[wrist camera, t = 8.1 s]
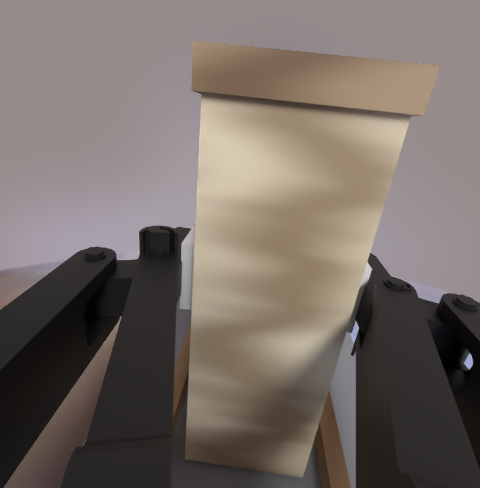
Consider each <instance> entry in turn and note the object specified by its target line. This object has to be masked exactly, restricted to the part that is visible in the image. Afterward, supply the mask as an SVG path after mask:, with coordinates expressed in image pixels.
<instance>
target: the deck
mask: <svg viewBox="0 0 480 488" xmlns="http://www.w3.org/2000/svg"><path fill="white" fill-rule="evenodd" d="M191 313H192V310H187V309H180V298H179V300H178V302H177V308H176V342H175V363H176V360H177V358H178V355H179V352H180V350H181V347H182V344H183V342H184V339H185V336H186V334H187V331H188V328H189V326H190V323H191ZM353 346H354V345H353V342H352V339H351V337H350V334H349V332H346V335H345V338H344V342H343V345H342V348H341V352H340V355H339V358H338V362H337V365H336V368H335V372H334V375H333V378H332V382H331V385H330V388H329V390H330V395H331V399H332V404H333V408H334V413H335V417H336V421H337V426H338V430H339V435H340V439H341V444H342V448H343V453H344V457H345V462H346V466H347V471H348V475H349V480H350V484H351V488H356V352H355V354H354V356H352V355H351V352H352V349H353ZM187 400H188V388H187V391H186V394H185V398H184V401H183V405H182V408H181V411H180V415H179V418H178V421H177V425H176V428H175V431H174V435H173V439H172V472H171V488H322V487H321V480H320V473H319V466H318V459H317V452H316V445H315V439H314V442H313V445H312V449H311V452H310V455H309V459H308V462H307V465H306V469H305V472H304V475H303V478H301V477H295V476H288V475H282V474H276V473H269V472H263V471H256V470H250V469H244V468H237V467H231V466H224V465H218V464H212V463H205V462H199V461H192V460H186V459H185V444H186V422H187ZM86 439H87V438H86ZM85 442H86V440H85ZM85 442H84V444H85ZM84 444H83V445H84ZM83 445H82V446H83ZM61 484H62V483H61ZM60 487H61V485H60V486H59V488H60Z"/></svg>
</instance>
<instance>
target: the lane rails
mask: <svg viewBox="0 0 480 488" xmlns="http://www.w3.org/2000/svg"><path fill="white" fill-rule="evenodd" d="M190 335H191V323H190V326H189V328H188V331H187V334H186V336H185V339H184V342H183V344H182V347H181V350H180V352H179V355H178V358H177V360H176V363H175V374H174V407H173V435H174V431H175V428H176V425H177V421H178V418H179V415H180V411H181V408H182V405H183V401H184V398H185V394H186V391H187V388H188V378H189V357H190ZM315 445H316V452H317V459H318V466H319V473H320V480H321V487H322V488H351V484H350V480H349V475H348V471H347V466H346V462H345V457H344V453H343V448H342V444H341V439H340V435H339V430H338V426H337V421H336V417H335V413H334V408H333V404H332V399H331V395H330V390H329V392H328V395H327V398H326V402H325V405H324V408H323V412H322V415H321V418H320V422H319V425H318V429H317V432H316V435H315Z"/></svg>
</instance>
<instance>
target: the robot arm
mask: <svg viewBox="0 0 480 488" xmlns="http://www.w3.org/2000/svg"><path fill="white" fill-rule="evenodd" d="M195 226H196V223H195V224H194V226H193V227H192V229H189V228H182V227H177V228H175V229H174V228H171V227H167V226H150V227H146V228H144V229H142V230H141V231H140V232H139V238H140V255H139V258H138V259H136V260H117V258H116V253H115V251H113V250H111V249H108V248H101V247H94V248H93V247H91V248H88V249H84V250H81V251H79V252H77V253H76V254H75V255H73V256H72V257H71V258H69V259H68V260H66V261H65V262H64V263H62V264H61V265H60V266H58V267H57V268H56V269H54V270H53V271H52V272H50V273H49V274H48V275H46V276H45V277H44V278H42V279H41V280H40V281H38V282H37V283H36V284H34V285H33V286H32V287H30V288H29V289H28V290H26V291H25V292H24V293H22V294H21V295H20V296H19V297H17V298H16V299H15V300H13V301H12V302H11V303H9V304H8V305H7V306H5V307H4V308H3V309H1V310H0V488H3V487H4V486H5V484H6V483H7V481H8V480H9V478H10V477H11V476H12V474H13V473H14V471H15V470H16V468H17V467H18V465H19V464H20V463H21V461H22V460H23V458H24V457H25V455H26V454H27V452H28V451H29V450H30V448H31V447H32V445H33V444H34V442H35V441H36V439H37V438H38V437H39V435H40V434H41V432H42V431H43V429H44V428H45V426H46V425H47V424H48V422H49V421H50V419H51V418H52V416H53V415H54V413H55V412H56V411H57V409H58V408H59V406H60V405H61V403H62V402H63V400H64V399H65V398H66V396H67V395H68V393H69V392H70V390H71V389H72V388H73V386H74V385H75V383H76V382H77V380H78V379H79V377H80V376H81V375H82V373H83V372H84V370H85V369H86V367H87V366H88V364H89V363H90V362H91V360H92V359H93V357H94V356H95V354H96V353H97V351H98V350H99V349H100V347H101V346H102V344H103V343H104V341H105V340H106V338H107V337H108V336H109V334H110V333H111V331H112V330H113V328H114V327H115V325H116V324H117V323H118V321H119V319H120V316H122V318H121V321H120V325H119V328H118V332H117V335H116V339H115V342H114V346H113V349H112V353H111V356H110V360H109V363H108V367H107V370H106V374H105V377H104V381H103V384H102V388H101V391H100V395H99V398H98V402H97V405H96V409H95V412H94V416H93V419H92V423H91V426H90V430H89V433H88V436H87V439H86V442H85V444H84V445H83V446H81V447H77V448H76V449H75V451H74V452H73V454H72V455H71V458H70V461H69V463H68V466H67V469H66V471H65V475H64V478H63V481H62V484H61V487H60V488H171V472H172V439H173V407H174V374H175V342H176V308H177V302H178V300H179V298H180V309H187V310H192V292H193V270H194V248H195ZM355 321H357V324H358V326H359V331H358V334H357V337H356V340H355V343H354V346H353V349H352V352H351V355H352V356H354V354H355V352H356V488H480V303H478V302H476V301H474V300H473V299H472V298H470V297H466V296H464V295H457V294H449V293H447V294H444V295H443V296H442V298H441V300H440V303H439V304H438V303H434V302H431V301H427V300H424V299H421V298H418V295H417V292H416V290H415V289H414V287H413V286H411V285H410V284H409V283H407V282H405V281H403V280H401V279H398V278H395V277H391V276H390V275H389V273H388V272H387V271H386V269H385V268H384V267H383V265H382V264H381V263H380V261H379V260H378V259H377V257H376V256H374V255H373V254H371V253H370V255H369V258H368V262H367V265H366V268H365V272H364V275H363V278H362V282H361V285H360V288H359V292H358V295H357V298H356V302H355V305H354V308H353V312H352V315H351V318H350V322H349V325H348V328H347V332H350V333H352V330H353V327H354V324H355ZM469 353H470V354H471V355H472V358H473V366H472V367H471V369H470V370H469V369H468V368H467V367H466V366H465V364H464V362H465V360H466V358H467V356H468V355H469Z"/></svg>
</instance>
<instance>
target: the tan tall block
mask: <svg viewBox="0 0 480 488" xmlns="http://www.w3.org/2000/svg"><path fill="white" fill-rule="evenodd" d="M192 65H193V66H192V91H194V92H197V93H201V94H202V97H201V118H200V120H201V121H200V139H199V161H198V162H199V163H198V183H197V207H196V226H195V248H194V270H193V292H192V313H191V335H190V357H189V378H188V400H187V422H186V444H185V459H186V460H192V461H199V462H205V463H212V464H218V465H224V466H231V467H237V468H244V469H250V470H256V471H263V472H269V473H276V474H282V475H288V476H295V477H301V478H303V475H304V472H305V469H306V465H307V462H308V459H309V455H310V452H311V449H312V445H313V442H314V439H315V435H316V432H317V429H318V425H319V422H320V418H321V415H322V412H323V408H324V405H325V402H326V398H327V395H328V392H329V388H330V385H331V382H332V378H333V375H334V372H335V368H336V365H337V362H338V358H339V355H340V352H341V348H342V345H343V342H344V338H345V335H346V332H347V328H348V325H349V322H350V318H351V315H352V312H353V308H354V305H355V302H356V298H357V295H358V292H359V288H360V285H361V282H362V278H363V275H364V272H365V268H366V265H367V262H368V258H369V255H370V252H371V248H372V245H373V241H374V238H375V235H376V231H377V228H378V225H379V221H380V218H381V215H382V211H383V208H384V205H385V201H386V198H387V195H388V191H389V188H390V185H391V181H392V178H393V174H394V171H395V168H396V165H397V161H398V158H399V155H400V151H401V148H402V145H403V141H404V138H405V134H406V131H407V128H408V125H409V121H410V118H411V116H424V114H425V111H426V108H427V105H428V102H429V99H430V95H431V92H432V89H433V86H434V83H435V79H436V76H437V73H438V70H439V67H440V66H437V65H427V64H418V63H407V62H398V61H388V60H378V59H368V58H358V57H348V56H339V55H329V54H318V53H310V52H309V53H308V52H299V51H290V50H280V49H270V48H260V47H251V46H241V45H230V44H221V43H211V42H200V41H193V64H192Z"/></svg>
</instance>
